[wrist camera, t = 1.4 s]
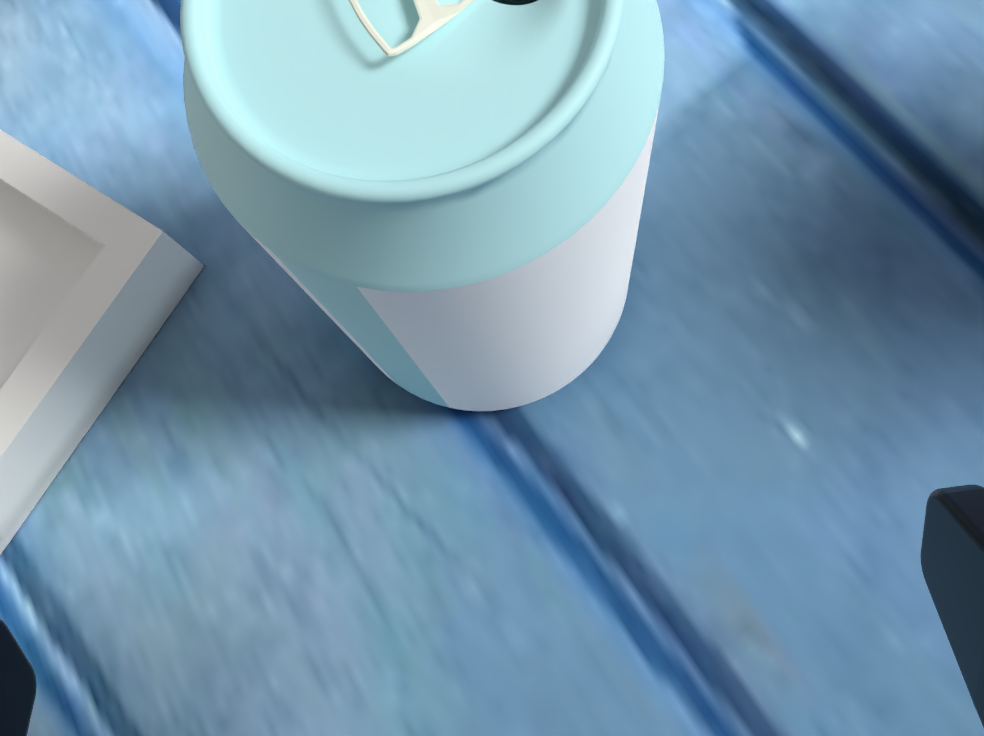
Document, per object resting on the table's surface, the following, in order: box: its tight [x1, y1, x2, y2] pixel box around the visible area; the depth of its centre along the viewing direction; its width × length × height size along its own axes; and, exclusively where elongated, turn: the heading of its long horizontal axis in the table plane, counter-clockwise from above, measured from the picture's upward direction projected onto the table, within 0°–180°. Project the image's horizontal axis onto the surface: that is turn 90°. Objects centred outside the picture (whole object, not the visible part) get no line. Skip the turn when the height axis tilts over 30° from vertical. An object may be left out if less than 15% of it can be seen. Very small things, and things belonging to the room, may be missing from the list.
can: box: [180, 0, 665, 411], centre depth 18 cm, size 7×7×12 cm
